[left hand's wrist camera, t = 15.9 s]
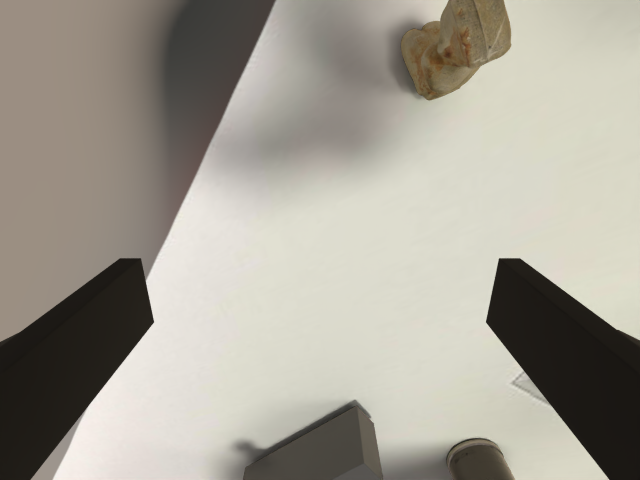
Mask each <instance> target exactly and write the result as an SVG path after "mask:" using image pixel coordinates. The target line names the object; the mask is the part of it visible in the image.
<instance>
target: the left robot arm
mask: <svg viewBox="0 0 640 480" xmlns="http://www.w3.org/2000/svg"><path fill="white" fill-rule="evenodd" d="M153 323H154V320H153V315H152V310H151V305H150V300H149V295H148V291H147V286H146V281H145V276H144V271H143V266H142V261H141V258H120V259H119V260H117V261H116V262H115V263H113V264H112V265H110V266H109V267H108V268H106V269H105V270H104V271H102V272H101V273H100V274H98V275H97V276H96V277H94V278H93V279H92V280H90V281H89V282H87V283H86V284H85V285H83V286H82V287H81V288H79V289H78V290H77V291H75V292H74V293H73V294H71V295H70V296H68V297H67V298H66V299H64V300H63V301H62V302H60V303H59V304H58V305H56V306H55V307H54V308H52V309H51V310H50V311H48V312H47V313H45V314H44V315H43V316H41V317H40V318H39V319H37V320H36V321H35V322H33V323H32V324H31V325H29V326H28V327H26V328H25V329H24V330H22V331H21V332H19V333H17V334H15V335H13V336H11V337H9V338H7V339H5V340H3V341H1V342H0V480H31V478H32V477H33V476H34V474H35V473H36V472H37V471H38V469H39V468H40V467H41V466H42V464H43V463H44V462H45V460H46V459H47V458H48V457H49V455H50V454H51V453H52V452H53V450H54V449H55V448H56V446H57V445H58V444H59V443H60V441H61V440H62V439H63V438H64V436H65V435H66V434H67V432H68V431H69V430H70V429H71V427H72V426H73V425H74V424H75V422H76V421H77V420H78V418H79V417H80V416H81V415H82V413H83V412H84V411H85V410H86V408H87V407H88V406H89V404H90V403H91V402H92V401H93V399H94V398H95V397H96V396H97V394H98V393H99V392H100V390H101V389H102V388H103V387H104V385H105V384H106V383H107V382H108V380H109V379H110V378H111V376H112V375H113V374H114V373H115V371H116V370H117V369H118V368H119V366H120V365H121V364H122V362H123V361H124V360H125V359H126V357H127V356H128V355H129V353H130V352H131V351H132V350H133V348H134V347H135V346H136V345H137V343H138V342H139V341H140V339H141V338H142V337H143V336H144V334H145V333H146V332H147V331H148V329H149V328H150V327H151V325H152V324H153ZM486 323H487V324H488V325H489V327H490V328H491V329H492V331H493V332H494V333H495V334H496V336H497V337H498V338H499V339H500V341H501V342H502V343H503V345H504V346H505V347H506V348H507V350H508V351H509V352H510V353H511V355H512V356H513V357H514V359H515V360H516V361H517V362H518V364H519V365H520V366H521V368H522V369H523V370H524V371H525V373H526V374H527V375H528V376H529V378H530V379H531V380H532V382H533V383H534V384H535V385H536V387H537V388H538V389H539V390H540V392H541V393H542V394H543V396H544V397H545V398H546V399H547V401H548V402H549V403H550V404H551V406H552V407H553V408H554V410H555V411H556V412H557V413H558V415H559V416H560V417H561V418H562V420H563V421H564V422H565V424H566V425H567V426H568V427H569V429H570V430H571V431H572V432H573V434H574V435H575V436H576V438H577V439H578V440H579V441H580V443H581V444H582V445H583V446H584V448H585V449H586V450H587V452H588V453H589V454H590V455H591V457H592V458H593V459H594V460H595V462H596V463H597V464H598V466H599V467H600V468H601V469H602V471H603V472H604V473H605V474H606V476H607V477H608V478H609V480H640V340H638V339H636V338H634V337H632V336H630V335H628V334H626V333H624V332H622V331H620V330H616V329H615V328H614V327H612V326H611V325H609V324H608V323H607V322H605V321H604V320H603V319H601V318H600V317H599V316H597V315H596V314H595V313H593V312H592V311H591V310H589V309H588V308H586V307H585V306H584V305H582V304H581V303H580V302H578V301H577V300H576V299H574V298H573V297H572V296H570V295H569V294H567V293H566V292H565V291H563V290H562V289H561V288H559V287H558V286H557V285H555V284H554V283H553V282H551V281H550V280H549V279H547V278H546V277H544V276H543V275H542V274H540V273H539V272H538V271H536V270H535V269H534V268H532V267H531V266H530V265H528V264H527V263H525V262H524V261H523V260H521V259H520V258H499V261H498V266H497V271H496V276H495V281H494V286H493V291H492V295H491V300H490V305H489V310H488V315H487V320H486Z"/></svg>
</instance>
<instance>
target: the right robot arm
mask: <svg viewBox="0 0 640 480" xmlns="http://www.w3.org/2000/svg"><path fill="white" fill-rule="evenodd" d="M447 466H448V468H449V471H450V473H451V475H452V478H453V480H515V478H514V476H513V475H512V473H511V471H510V469H509V467H508V465H507V463H506V461H505V459H504V457H503V454H502V452H501V450H500V449H499V447H498V446H497V445H496V444H494V443H493V442H491V441H488V440H483V439H474V440H469V441H465V442H463V443H460V444H459V445H457V446H456V447H454V448H453V449H452V450H451V451H450V453H449V454H448V457H447Z"/></svg>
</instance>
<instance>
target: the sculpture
mask: <svg viewBox="0 0 640 480" xmlns="http://www.w3.org/2000/svg"><path fill="white" fill-rule="evenodd" d="M510 47H511V28H510V22H509V18H508V15H507V11H506V8H505V4H504V0H449V1H448V3H447V6H446V8H445V9H444V11H443V13H442V15H441V20H440V21H433V22H429V23H427V24H426V25H424V26H423V28H422V30H421V31H420V30H417V29H412V30H410V31H408V32H406V33H405V35H404V36H403V38H402V41H401V51H402V55H403V58H404V61H405V64H406V66H407V69H408V71H409V73H410V75H411V77H412V79H413V81H414V84H415V87H416V91H417V92H418V94H419V95H423V96H424V97H425V99H427V100H433V99H436V98H439V97H442V96H444V95H446V94H449V93H451V92H453V91H455V90H457V89H459V88H460V87H461V86H462V85H463V84H465V83H466V82H467V81H468V80H469V79H470V78H471V77H472V76H473V75H474V74H475V72H476V71H477V70H478V69H479V68H480V66H482V65H484V64H486V63H487V62H490V61H492V60H494V59H497V58H499V57H501V56H503V55H504V54H505V53H506V52H507V51H508V50H509V49H510Z"/></svg>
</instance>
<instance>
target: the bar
mask: <svg viewBox="0 0 640 480" xmlns="http://www.w3.org/2000/svg"><path fill="white" fill-rule="evenodd" d="M243 480H383V476H382V470H381V464H380V458H379V452H378V446H377V440H376V435H375V429H374V423H373V422H372V421H371V420H370V419H369V418H368V417H367V416H366V415H365V414H364V413H363V412H362V411H361V409H360V408H359V407H358V406H355V407H353V408H352V409H350V410H348V411H346V412H344V413H343V414H341V415H339V416H337V417H335V418H334V419H332V420H330V421H328V422H326V423H325V424H323V425H321V426H319V427H317V428H316V429H314V430H312V431H310V432H308V433H307V434H305V435H303V436H301V437H299V438H298V439H296V440H294V441H292V442H291V443H289V444H287V445H285V446H283V447H282V448H280V449H278V450H276V451H274V452H273V453H271V454H269V455H267V456H265V457H264V458H262V459H260V460H258V461H256V462H255V463H253V464H251V465H249V466H247V467H246V468H245V473H244V478H243Z"/></svg>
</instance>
